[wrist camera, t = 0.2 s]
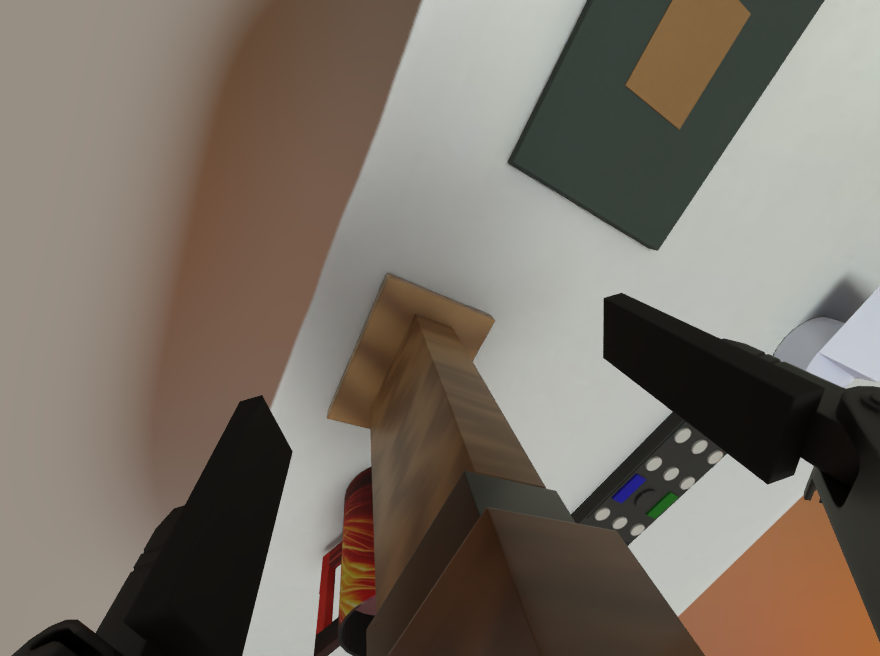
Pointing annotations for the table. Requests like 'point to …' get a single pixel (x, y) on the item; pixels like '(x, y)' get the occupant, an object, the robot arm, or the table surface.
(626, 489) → the remote control
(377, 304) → the stand
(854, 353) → the wedge on round base
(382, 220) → the table surface
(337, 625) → the mug
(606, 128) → the mat
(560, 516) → the wooden rectangular block
